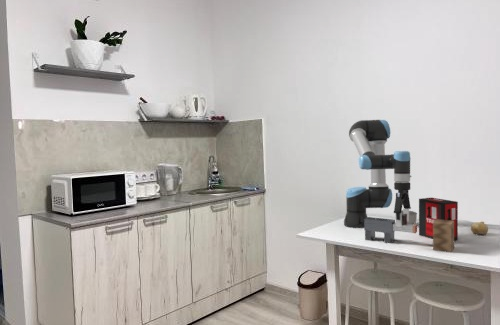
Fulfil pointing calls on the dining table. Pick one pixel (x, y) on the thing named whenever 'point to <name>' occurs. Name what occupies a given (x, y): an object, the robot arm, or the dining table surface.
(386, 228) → the grey arched bench
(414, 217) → the teacup
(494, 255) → the dining table surface
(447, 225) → the socket block
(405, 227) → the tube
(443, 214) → the cleaning product box
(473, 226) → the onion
